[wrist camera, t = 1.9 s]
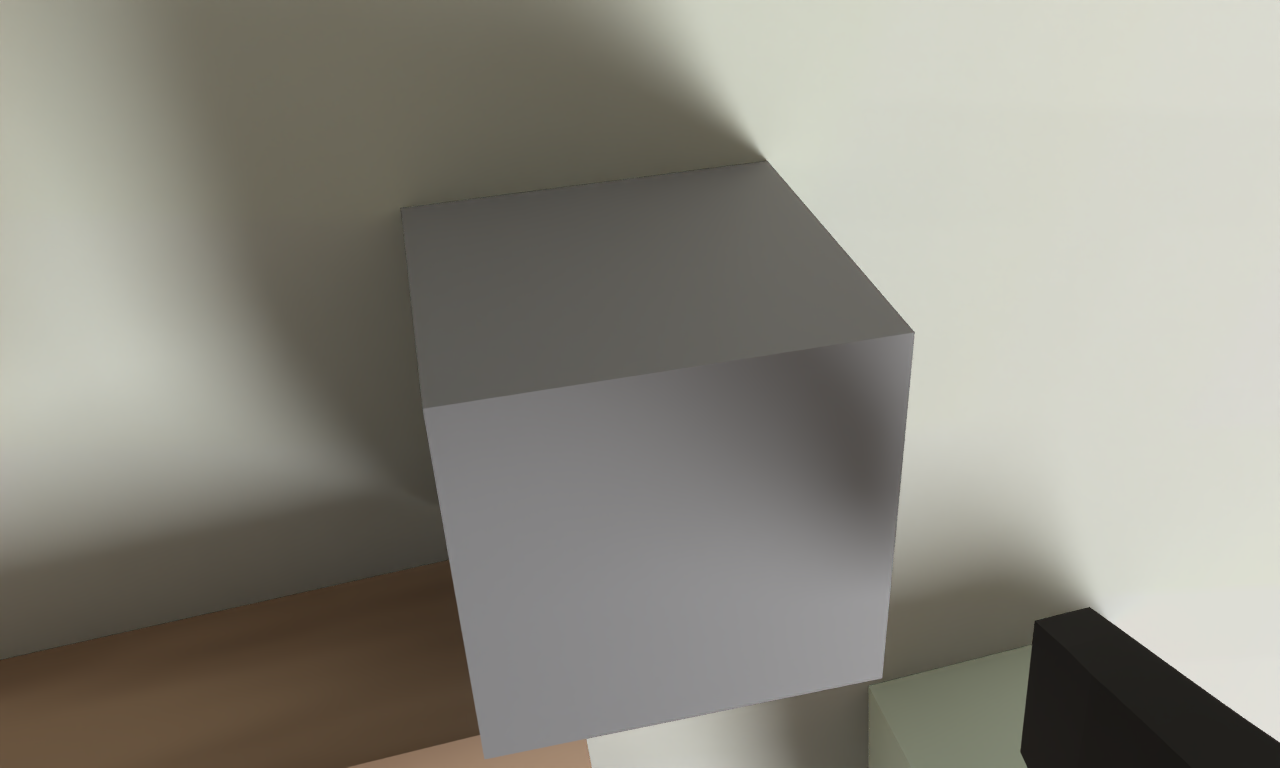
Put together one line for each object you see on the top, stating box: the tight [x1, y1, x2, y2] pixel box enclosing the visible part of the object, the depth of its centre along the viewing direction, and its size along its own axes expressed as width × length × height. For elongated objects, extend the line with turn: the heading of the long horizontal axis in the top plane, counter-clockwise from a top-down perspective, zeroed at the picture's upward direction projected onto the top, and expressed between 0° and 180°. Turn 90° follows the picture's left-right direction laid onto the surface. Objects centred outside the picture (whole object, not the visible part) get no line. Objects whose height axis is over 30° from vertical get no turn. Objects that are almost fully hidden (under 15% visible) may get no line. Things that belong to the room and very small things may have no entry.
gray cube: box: [401, 161, 915, 760], centre depth 15 cm, size 5×5×5 cm
